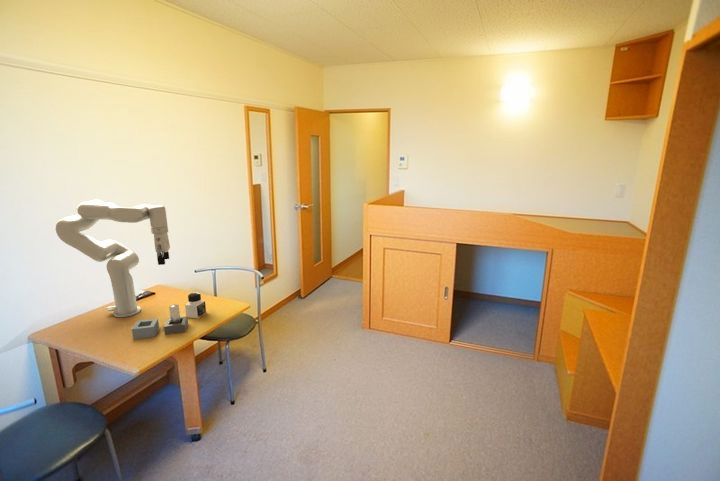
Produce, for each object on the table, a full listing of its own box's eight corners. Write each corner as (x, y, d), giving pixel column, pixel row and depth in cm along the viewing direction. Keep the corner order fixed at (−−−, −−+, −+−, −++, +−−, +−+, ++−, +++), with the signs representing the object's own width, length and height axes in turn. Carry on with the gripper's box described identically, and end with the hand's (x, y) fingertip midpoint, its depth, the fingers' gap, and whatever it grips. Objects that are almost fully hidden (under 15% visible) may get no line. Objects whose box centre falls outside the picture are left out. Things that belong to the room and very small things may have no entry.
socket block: (133, 339, 168) (131, 329, 167) (138, 330, 176) (137, 320, 175) (154, 336, 170) (153, 326, 169) (159, 327, 179) (158, 318, 177)
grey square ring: (164, 334, 172) (163, 326, 171) (168, 325, 181) (167, 318, 180) (185, 331, 175) (184, 324, 174) (188, 323, 183) (187, 316, 182)
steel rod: (171, 331, 175) (168, 308, 172) (173, 327, 179) (170, 304, 176) (180, 330, 176) (177, 307, 173) (182, 326, 180) (179, 304, 177)
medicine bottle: (198, 318, 189) (195, 297, 186) (186, 317, 190) (183, 295, 187) (206, 312, 195) (204, 291, 192) (194, 311, 197) (192, 290, 194)
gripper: (164, 233, 178) (168, 266, 182) (171, 225, 194) (175, 256, 198) (146, 233, 176) (151, 267, 180) (155, 226, 192) (159, 257, 196)
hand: (163, 261), depth 189 cm, fingers open, 9 cm apart
